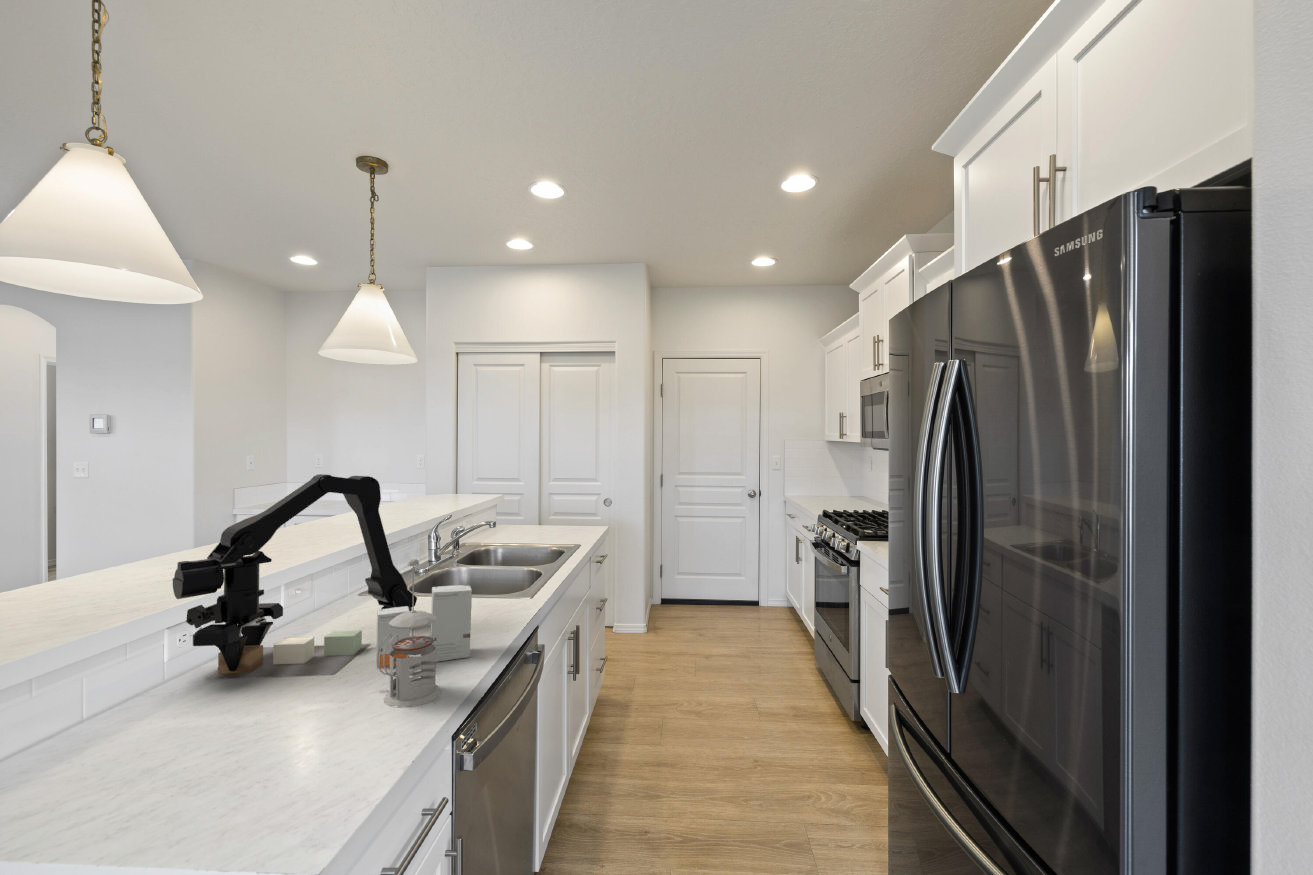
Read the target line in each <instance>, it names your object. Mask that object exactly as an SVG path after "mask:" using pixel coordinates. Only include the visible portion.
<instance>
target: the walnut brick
mask: <svg viewBox="0 0 1313 875" xmlns="http://www.w3.org/2000/svg"><path fill="white" fill-rule="evenodd" d="M263 647H264V645H263V644H261V645H250V646H244V649H243V652H242V655H241V659H240V662H239V665H238V667H237V670H236V671H229V669H228V667H227V664H226V662H225V660H224V658H223V655H222V653H221V651H220V652H217V653H218V655H217V656H218V657H217V665H218V666H217V671H218V674H226V673H251V672H252V671H254V670H255V669H257V668H259V667H260V666H262V665H263Z"/></svg>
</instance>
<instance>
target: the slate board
mask: <svg viewBox="0 0 1313 875" xmlns="http://www.w3.org/2000/svg"><path fill="white" fill-rule="evenodd" d="M371 645H372V644H371V643H363V644H362V648H361V649H360V650H359V651H358V652H356V653H355V654H354V655H333V656H324V644H322V645H314V657H312V658H311V659H310V660H308V661H307V662H305V663H301V664H273V646H267V647H266V646H263V665H262V666H260V667H259V668H257V669H255V670H254V671H252V672H251V673H226V674H218V670H217V671H215V672H213V673H212V674H210V675H209V676H206V677H205V678H204V680H223V679H224V680H225V679H227V680H228V679H230V680H231V679H256V678H259V679H260V678H283V677H284V678H287V677H311V676H335V675H336V674H337V673H338V672H340V671H341V670H342V669H344V667H346V666H347V665H348V664H349V663H350V662H351V661H352V660H354V659H355V658H357V657H358V656H359V655H360V654H361V653H363V652H364V651H365V650H366V649H367V648H369V647H370V646H371Z"/></svg>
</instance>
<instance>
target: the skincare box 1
mask: <svg viewBox="0 0 1313 875" xmlns="http://www.w3.org/2000/svg"><path fill="white" fill-rule="evenodd" d="M405 612H409V607H408V606H405V607H395V608H389V609H381V608H380V609H377V610H376V613H377V614H376V615H377V616H376V617H377V618H376V669H379V668H378V665H377V653H378V649H379V647H380V644H381V642H382V641H383V639H384V638H385V637H386V636H387V635H389V634H392V638H393V637H394V636H395V635H398V640H399V639H401V638H404V637H410V629H394V628H392V627H390V625H389V622H390V621H391V620H393V619H394V618H395V617H396V616H398V615H400V614H402V613H405ZM390 640H391V635H389V636H388V637H387V638H386V639H385V640H384V642H383V643H382V645H381V648H380V651H379V655H378V656H379V666H380V668H381V669H383V668H384V666H383V655H384V651H385V648H386V646H387V644H388V643H389V641H390ZM393 640H394V641H397V637H395V638H394V639H393ZM393 643H394V642H393V641H392V640H391V642H390V644H389V645H388V647H387V650H386V653H385V667H386V668H390V652H391V651H392V650H394V649H393V648H392V644H393ZM409 656H410V655H405V654H400V653H399V654H395V655H394V656H393V659H394V658H396V657H403V658H410V657H409ZM394 665H396V661H395V662H394V663H393V666H394Z"/></svg>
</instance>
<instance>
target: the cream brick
mask: <svg viewBox="0 0 1313 875" xmlns="http://www.w3.org/2000/svg"><path fill="white" fill-rule="evenodd" d="M314 646H315V636H310V637H284V638H282V639H281V640H279V641H277V642H276V643H274V644H273V646H272V647H273V664H301V663H305V662H307V661H308V660H310V659H311V658H312V657H314Z"/></svg>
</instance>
